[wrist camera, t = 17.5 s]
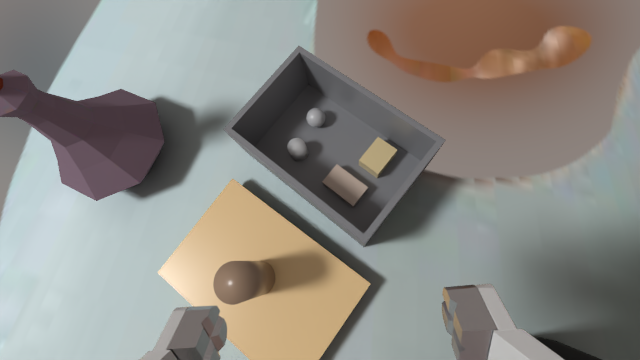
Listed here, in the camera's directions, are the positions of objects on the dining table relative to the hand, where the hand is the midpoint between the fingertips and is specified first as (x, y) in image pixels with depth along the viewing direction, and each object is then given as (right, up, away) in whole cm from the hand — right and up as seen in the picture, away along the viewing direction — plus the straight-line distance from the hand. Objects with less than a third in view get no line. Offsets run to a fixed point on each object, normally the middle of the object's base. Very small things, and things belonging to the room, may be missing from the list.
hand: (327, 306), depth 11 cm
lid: (-7, -8, +29) cm, 31 cm away
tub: (+2, +8, +31) cm, 32 cm away
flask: (-29, +9, +36) cm, 47 cm away
